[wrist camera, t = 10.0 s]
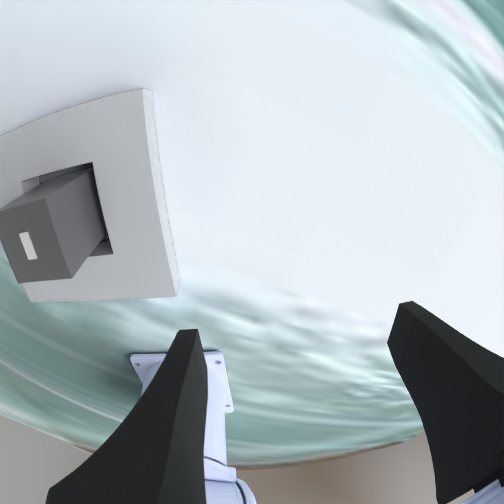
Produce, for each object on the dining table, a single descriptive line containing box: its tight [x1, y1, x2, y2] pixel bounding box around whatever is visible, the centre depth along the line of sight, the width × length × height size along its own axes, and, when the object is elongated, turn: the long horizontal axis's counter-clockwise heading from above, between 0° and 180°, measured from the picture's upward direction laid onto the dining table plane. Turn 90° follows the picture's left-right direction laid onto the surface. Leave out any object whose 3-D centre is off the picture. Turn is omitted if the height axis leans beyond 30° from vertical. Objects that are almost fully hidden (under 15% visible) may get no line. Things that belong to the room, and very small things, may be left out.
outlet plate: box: [0, 88, 180, 302], centre depth 15 cm, size 12×12×2 cm
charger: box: [0, 168, 108, 283], centre depth 13 cm, size 4×4×6 cm
